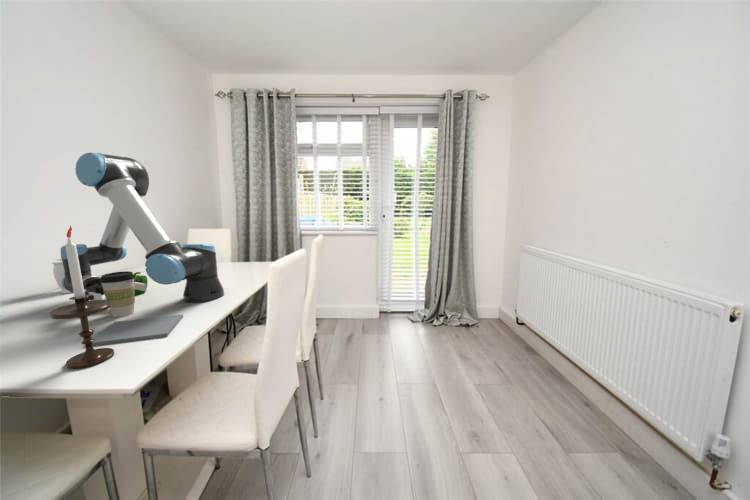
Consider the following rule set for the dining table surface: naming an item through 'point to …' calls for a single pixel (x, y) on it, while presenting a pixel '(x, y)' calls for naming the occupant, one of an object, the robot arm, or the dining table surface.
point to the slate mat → (137, 330)
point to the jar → (59, 274)
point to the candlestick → (82, 314)
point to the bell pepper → (144, 280)
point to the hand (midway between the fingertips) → (124, 292)
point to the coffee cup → (119, 292)
